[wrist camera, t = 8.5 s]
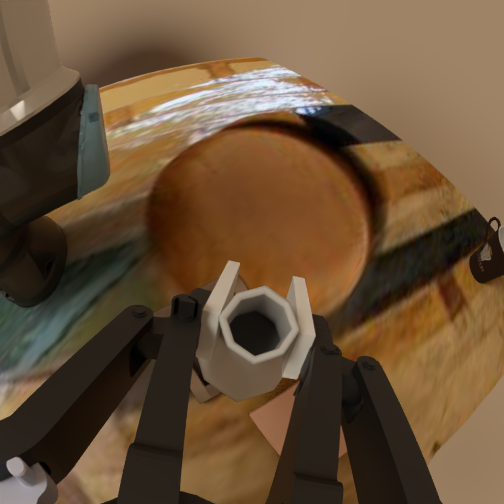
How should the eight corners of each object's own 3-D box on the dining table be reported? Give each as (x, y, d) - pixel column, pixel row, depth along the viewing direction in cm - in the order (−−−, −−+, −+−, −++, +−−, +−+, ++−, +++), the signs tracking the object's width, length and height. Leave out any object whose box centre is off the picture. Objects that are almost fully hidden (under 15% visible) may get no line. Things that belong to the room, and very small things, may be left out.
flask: (254, 290, 22) (274, 219, 13) (310, 361, 20) (373, 337, 11) (177, 339, 20) (139, 299, 11) (233, 417, 17) (240, 446, 8)
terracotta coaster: (248, 413, 29) (248, 414, 28) (327, 359, 32) (330, 358, 31) (300, 480, 25) (302, 483, 24) (372, 425, 28) (377, 426, 27)
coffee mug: (487, 296, 38) (521, 277, 29) (463, 272, 40) (498, 249, 31) (492, 255, 43) (520, 233, 34) (469, 232, 45) (498, 207, 36)
